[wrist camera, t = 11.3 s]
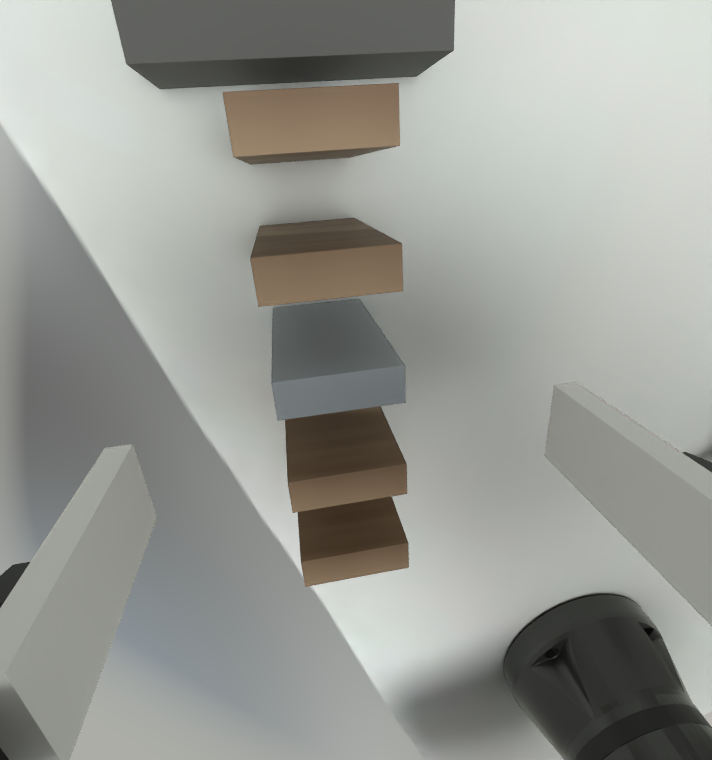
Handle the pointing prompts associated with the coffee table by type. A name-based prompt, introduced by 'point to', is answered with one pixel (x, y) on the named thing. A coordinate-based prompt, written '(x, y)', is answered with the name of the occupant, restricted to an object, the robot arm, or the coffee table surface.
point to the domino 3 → (332, 360)
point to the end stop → (281, 39)
